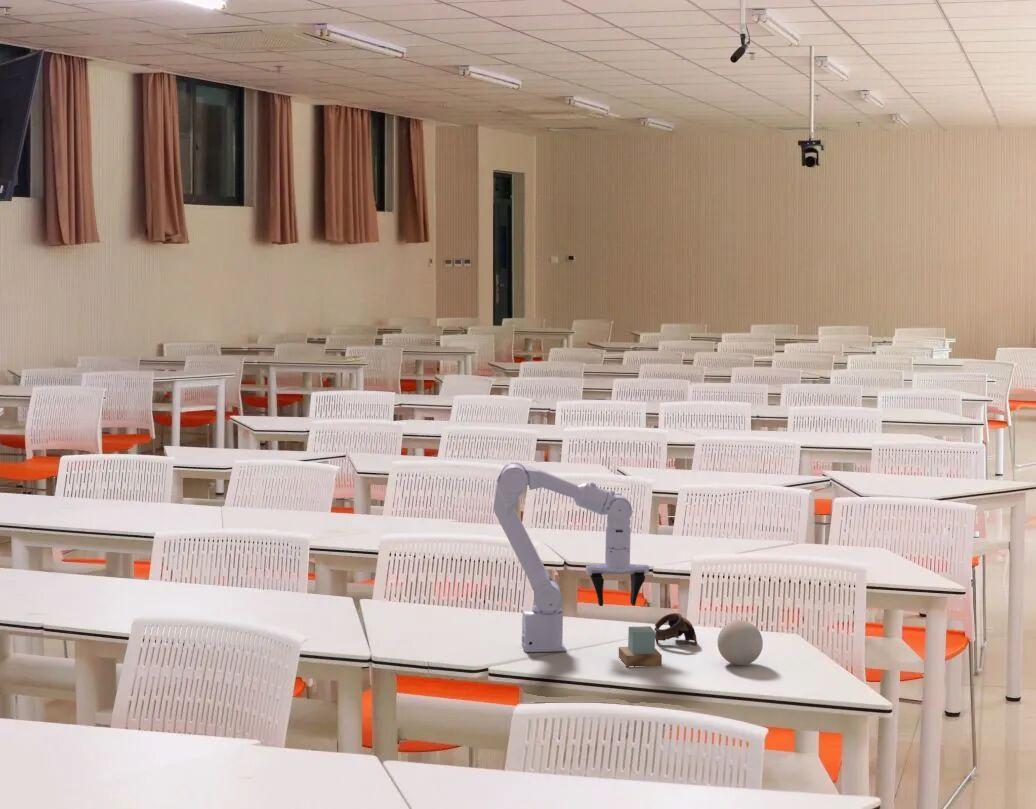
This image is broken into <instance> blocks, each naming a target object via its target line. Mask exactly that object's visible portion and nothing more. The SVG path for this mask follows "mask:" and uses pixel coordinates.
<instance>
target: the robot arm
mask: <svg viewBox="0 0 1036 809" xmlns="http://www.w3.org/2000/svg"><path fill="white" fill-rule="evenodd" d="M496 480H497V481H496V487H495V488H496V489H495V494H494V501H493V512H494V514H495V516H496V518H497V520H498V522H499V525H500V526H501V528H502V530H503V532H504V533H505V535H506V536H505V537H507V539H508V542H509V544H510V546H511V547H512V549H513V552H514V553H515V555H516V557H517V559H518V560H519V563H520V565H521V568H522V569H523V571H524V573H525V574H526V577H527V579H528V582H529V585H530V586H531V589H532V591H533V595H534V603H535V604H534V605H532V608H531V609H530V610H524V611H523V612H522V617H521V618H522V619H521V621H522V623H521V646H522V648H523V649H524V651H525V652H526V653H545V652H547V653H549V652H550V653H551V652H566V651H567V648H566V646H565V645H564V643H563V635H564V634H563V632H564V630H563V628H564V627H563V626H564V612H563V611H564V608H563V607H562V606H561V605H562V603H563V602H562V601H563V597H562V596H563V595H562V593H561V591H562V590H561V587H560V584H559V583H558V582H557V581H556V580H555V579H553V578H552V577H551V575H550V573H549V572H548V570H547V568H546V567H545V566H544V564H543V561H542V559H541V557H540V556H539V553H538V552H537V550H536V547H535V545H534V543H533V542H532V540H531V537H530V535H529V534H528V532H527V530H526V528H525V525H524V524H523V522H522V520H521V518H520V515H519V514H518V512H517V509H516V505H517V503H518V500H519V498H520V497H521V495H522V494H523V493H524V491H525V490H526V489H527V487H528V488H529V491H533V490H536V489H540V488H542V489H546V490H548V491H552V492H554V493H558V494H559V495H562V496H566V497H568V498H571V499H573V500H574V502H575V505H576V506H577V507H580V508H583V509H585V510H588V511H590V512H592V513H596V514H599V515H600V516H604V515H607V517H606V518H607V519H606V527H605V551H604V552H605V561H604V564H603V563H602V564H593V565H591V564H590V565H585V574H586V575H587V576H590V579H591V581H592V584H593V587H594V589H595V593H596V597H597V603H598V606H599V607H603V606H604V594H603V593H604V584H605V583H604V582H605V580H604V578H603V577H604V575H630V605H631V606H636V602H637V598H638V595H639V592H640V590H641V587H642V586H643V584H644V582H645V580H646V575H650V566H649V565H648V564H637V563H636V564H633V563H631V535H632V534H631V532H632V530H631V529H632V528H631V518H632V516H633V507H632V504H631V502H630V501H629V499H628V498H627V497H626V496H624V495H622V494H621V493H619V492H618V493H616V491H615V490H610V491H609V490H606V489H604V488H601V487H598V486H597V484H596V483H595V482H593V481H591V482H590V483H588V482H583V483H581V484H576V483H573V482H571V481H568V480H566V479H563V478H561V477H559V476H556V475H554V474H552V473H549V472H548V471H546V470H542V469H540V468H536V467H533V466H531V465H525V466H524V465H522V464H521V463H519V462H510V463H507V464H506V465H504V467H503V468H502V469H501V471H500V473H499V475H498V477H497V479H496Z"/></svg>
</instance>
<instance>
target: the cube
mask: <svg viewBox="0 0 1036 809" xmlns="http://www.w3.org/2000/svg"><path fill="white" fill-rule="evenodd" d="M655 632H656V631H655V630H654V629H653V628H652V627H651V626H649V625H648V626H640V625H639V626H628V633H627V634H628V636H627V638H628V639H627V640H628V641H627V643H628V645H627V647H628V649H629V650H630V651H631V653H632V654H655V649H656V640H655Z"/></svg>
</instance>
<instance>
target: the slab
mask: <svg viewBox="0 0 1036 809" xmlns="http://www.w3.org/2000/svg"><path fill="white" fill-rule="evenodd" d="M619 658H620V659H621V660H620V659H619ZM662 658H663V657H662V654H661V653H660V652H659V651H658V650H657V648H655V654H632V653H631V651H630V650H629V649H628V646H619V647H618V659H619V660H620V661H622V662H623V663H624V664H625V665H626V666H625V665H624V664H623V663H622V662H621V663H622V664H623V665H624V666H625V668H630V667H629V666H634V667H633V668H636V667H635V666H661V667H662V660H663V659H662Z"/></svg>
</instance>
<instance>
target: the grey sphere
mask: <svg viewBox="0 0 1036 809" xmlns="http://www.w3.org/2000/svg"><path fill="white" fill-rule="evenodd" d="M763 645H764V642H763V637H762V634H761V632H760V630H759V629H758V628H757V627H756V625H754V624H753V623H751V622H749V621H746V620H742V619H740V620H739V619H737V620H733V621H732V620H731V621H730V622H728V623H726V624H725V625H724V626H723V627H722V628H721V630H720V631H719V633H718V635H717V649H718V651H719V654H720V655H721V657H722V658H723V659H724V660H725V661H727V662H728V663H730V664H733V666H734V665H736V666H746V665H750V664H752V663H753V662H754V661H756V660H757V659H758V658H759V656H760V655H761V653H762V651H763Z"/></svg>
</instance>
